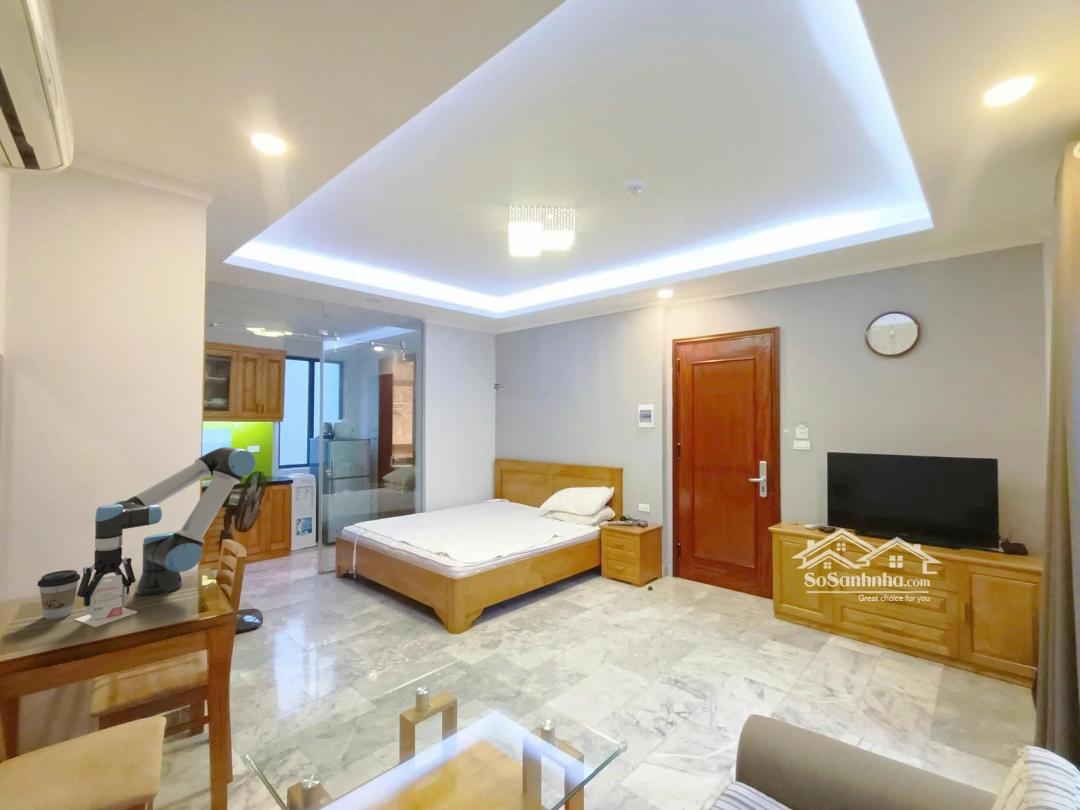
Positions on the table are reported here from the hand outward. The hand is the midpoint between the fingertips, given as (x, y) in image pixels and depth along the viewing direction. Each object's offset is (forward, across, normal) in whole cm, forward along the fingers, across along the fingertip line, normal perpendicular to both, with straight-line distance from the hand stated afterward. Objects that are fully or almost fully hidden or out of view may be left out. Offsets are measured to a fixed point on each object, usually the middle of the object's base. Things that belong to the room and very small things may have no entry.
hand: (106, 608), depth 178 cm
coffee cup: (+3, +7, -16) cm, 18 cm away
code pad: (+3, 0, 0) cm, 3 cm away
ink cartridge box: (+3, 0, 0) cm, 3 cm away
